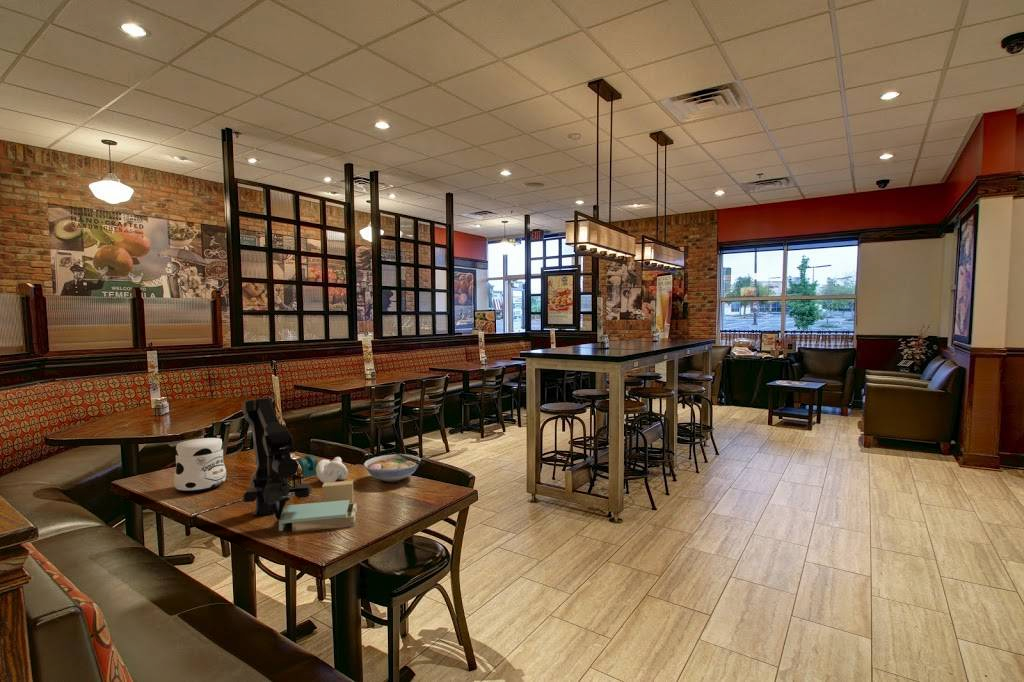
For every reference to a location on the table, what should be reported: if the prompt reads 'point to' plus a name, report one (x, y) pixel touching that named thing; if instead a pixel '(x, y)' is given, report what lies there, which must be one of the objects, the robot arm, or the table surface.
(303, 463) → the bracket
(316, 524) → the box
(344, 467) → the white lumpy figurine
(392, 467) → the ramen bowl
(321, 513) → the lid
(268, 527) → the table surface
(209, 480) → the milk container
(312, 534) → the table surface
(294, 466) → the robot arm
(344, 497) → the tan rectangular block
